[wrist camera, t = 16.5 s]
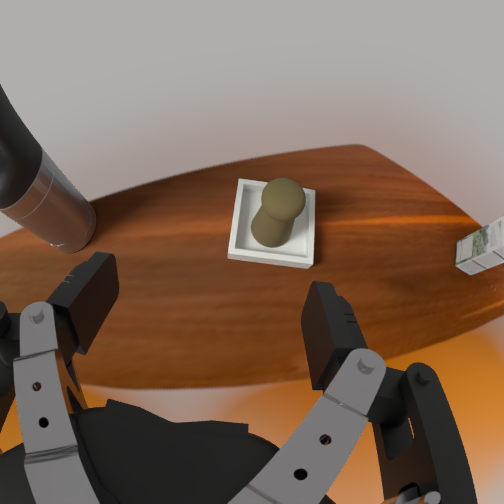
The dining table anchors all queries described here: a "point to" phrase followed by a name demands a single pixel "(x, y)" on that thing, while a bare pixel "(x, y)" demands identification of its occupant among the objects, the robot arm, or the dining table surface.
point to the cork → (278, 212)
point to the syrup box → (481, 248)
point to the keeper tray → (248, 249)
